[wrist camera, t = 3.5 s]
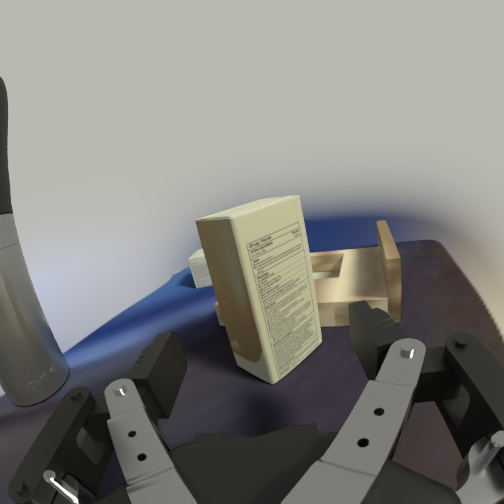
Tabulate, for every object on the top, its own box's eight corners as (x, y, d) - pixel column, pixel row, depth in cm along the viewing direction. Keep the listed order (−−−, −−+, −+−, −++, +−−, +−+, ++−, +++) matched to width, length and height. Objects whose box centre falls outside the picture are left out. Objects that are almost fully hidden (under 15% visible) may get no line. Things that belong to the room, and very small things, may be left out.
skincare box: (286, 331, 25) (260, 198, 22) (324, 343, 22) (303, 193, 19) (233, 367, 21) (191, 217, 18) (270, 388, 18) (230, 214, 15)
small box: (203, 276, 47) (196, 249, 46) (235, 271, 46) (229, 242, 45) (194, 289, 41) (186, 259, 40) (231, 283, 41) (223, 252, 39)
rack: (219, 325, 28) (205, 272, 27) (266, 272, 42) (258, 234, 40) (400, 322, 21) (400, 258, 20) (388, 263, 34) (385, 220, 33)
